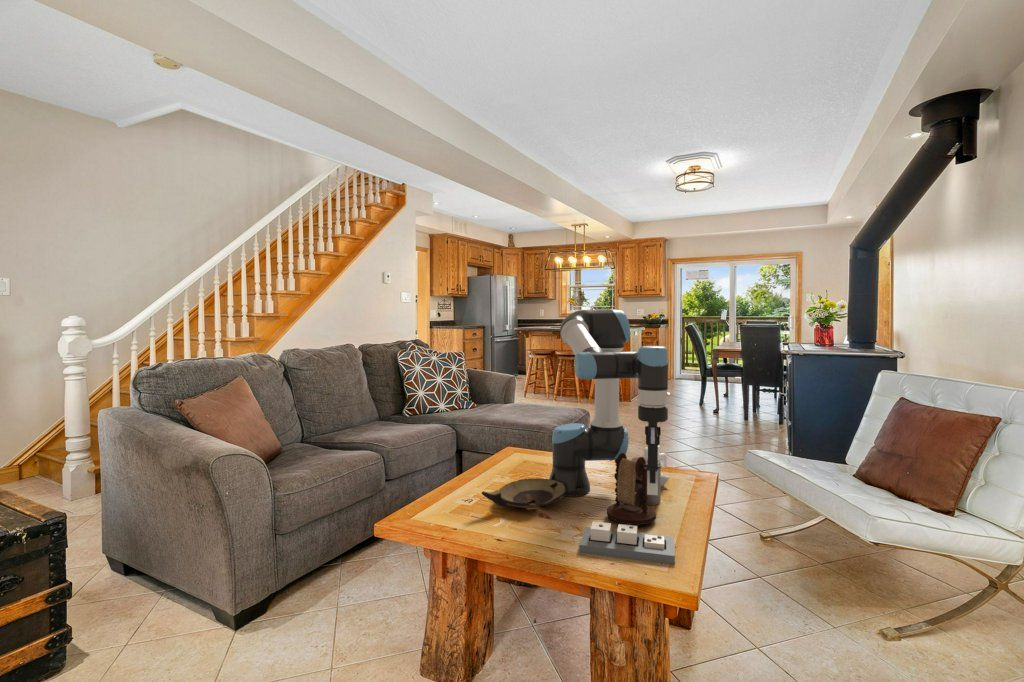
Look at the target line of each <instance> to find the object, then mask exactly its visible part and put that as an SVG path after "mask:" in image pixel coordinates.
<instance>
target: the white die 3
mask: <svg viewBox="0 0 1024 682" xmlns="http://www.w3.org/2000/svg"><path fill="white" fill-rule="evenodd" d="M643 547H646V548H655V549H664V550H665V547H664V536H656V535H647V534H645V540H644V545H643Z"/></svg>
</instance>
